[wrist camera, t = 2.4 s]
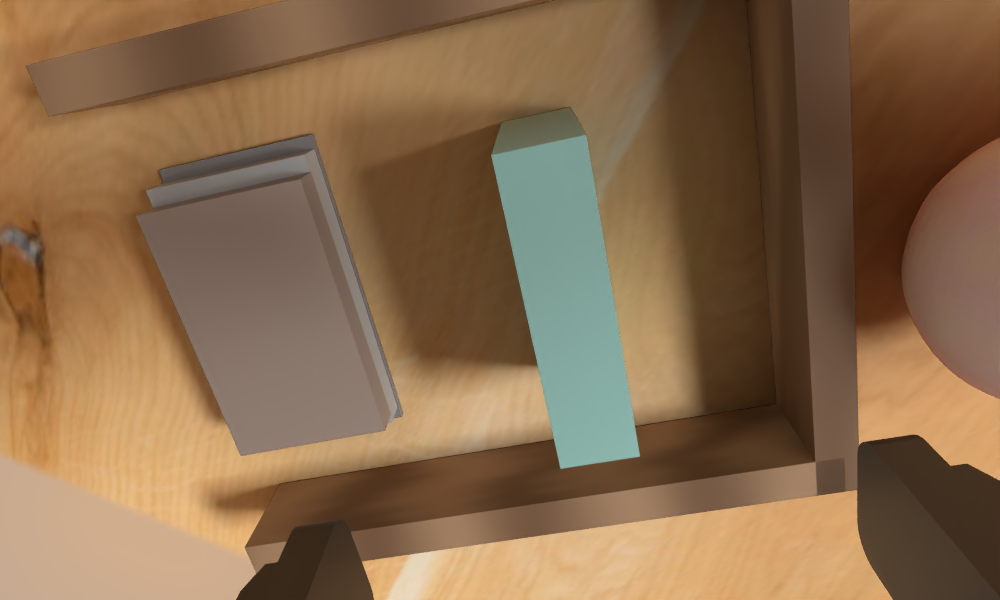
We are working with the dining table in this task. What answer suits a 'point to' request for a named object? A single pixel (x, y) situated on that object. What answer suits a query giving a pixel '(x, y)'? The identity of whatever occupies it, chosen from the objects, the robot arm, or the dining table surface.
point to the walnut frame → (662, 446)
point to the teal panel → (566, 285)
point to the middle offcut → (271, 172)
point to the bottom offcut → (265, 154)
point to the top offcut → (269, 313)
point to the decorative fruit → (959, 269)
